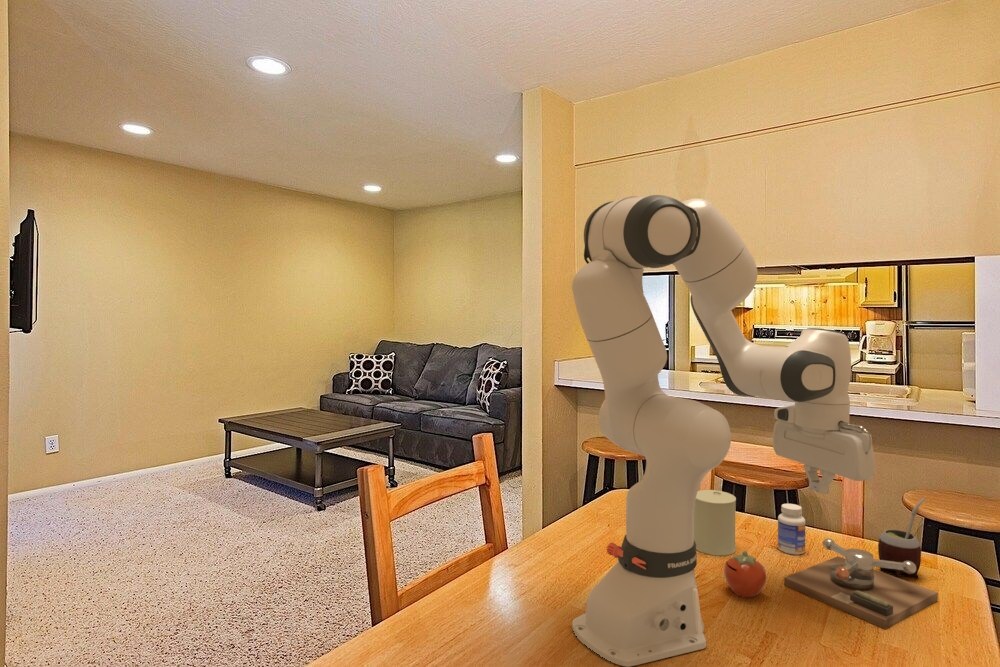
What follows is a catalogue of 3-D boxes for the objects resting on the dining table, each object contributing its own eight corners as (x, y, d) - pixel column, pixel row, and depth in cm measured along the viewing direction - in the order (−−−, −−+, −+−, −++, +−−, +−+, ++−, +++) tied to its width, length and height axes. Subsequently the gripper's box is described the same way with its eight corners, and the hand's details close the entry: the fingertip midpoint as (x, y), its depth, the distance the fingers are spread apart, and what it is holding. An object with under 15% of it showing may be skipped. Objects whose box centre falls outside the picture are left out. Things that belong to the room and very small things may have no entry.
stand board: (884, 629, 96) (885, 608, 96) (783, 585, 112) (784, 567, 111) (937, 600, 105) (938, 581, 105) (837, 563, 121) (838, 546, 121)
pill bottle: (802, 557, 124) (803, 512, 123) (775, 551, 127) (775, 507, 126) (807, 548, 128) (807, 505, 128) (780, 543, 131) (781, 500, 131)
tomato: (716, 584, 112) (716, 543, 112) (753, 582, 113) (753, 542, 113) (735, 604, 105) (735, 560, 104) (774, 601, 106) (775, 558, 105)
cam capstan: (917, 590, 105) (918, 559, 105) (890, 616, 97) (891, 583, 96) (825, 561, 118) (825, 534, 117) (794, 582, 109) (794, 553, 109)
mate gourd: (876, 575, 115) (877, 501, 114) (879, 561, 121) (881, 490, 121) (922, 586, 111) (924, 508, 110) (923, 571, 117) (925, 497, 116)
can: (739, 544, 131) (740, 491, 130) (731, 559, 123) (731, 503, 123) (697, 535, 136) (697, 485, 135) (687, 550, 128) (687, 496, 128)
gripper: (886, 427, 97) (883, 508, 98) (794, 407, 117) (792, 475, 118) (856, 428, 96) (853, 511, 96) (768, 408, 115) (765, 477, 116)
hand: (818, 491), depth 107 cm, fingers closed
